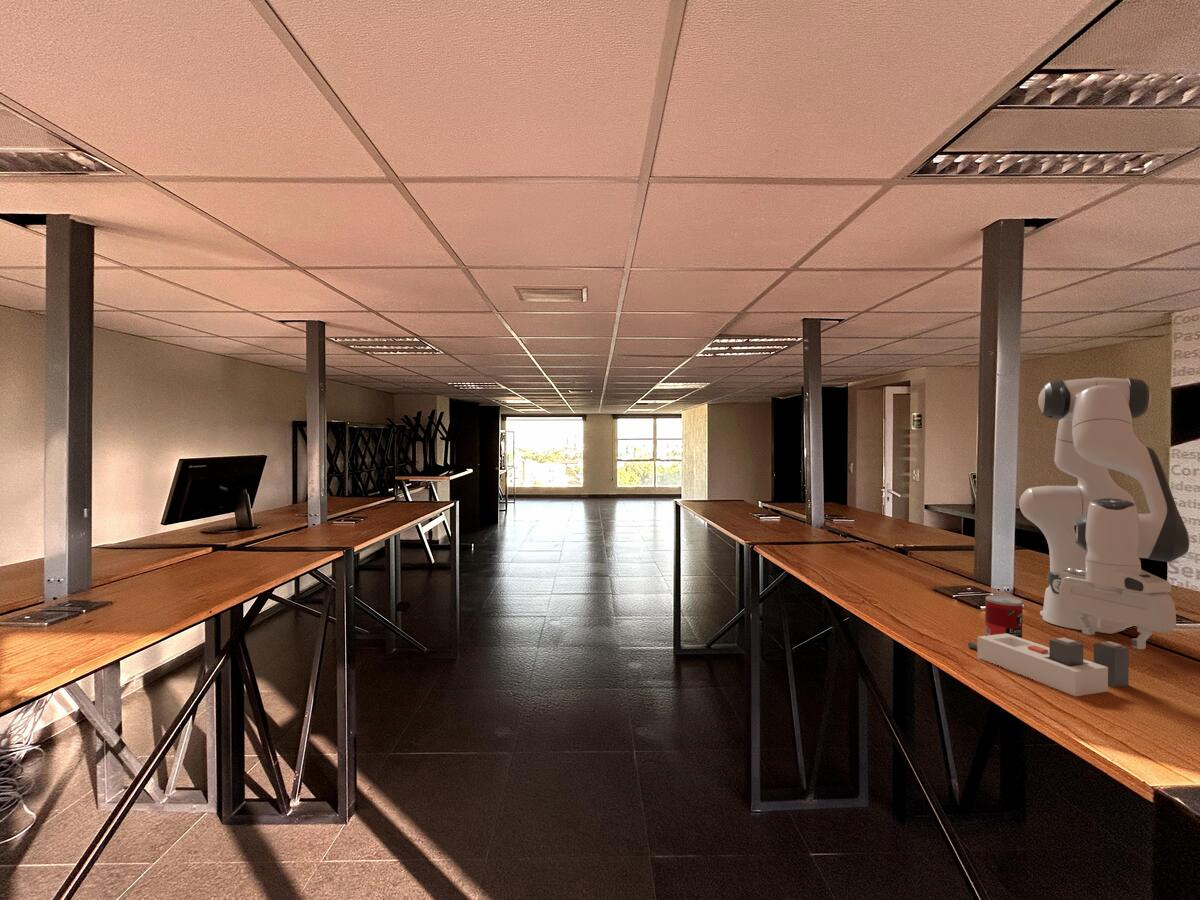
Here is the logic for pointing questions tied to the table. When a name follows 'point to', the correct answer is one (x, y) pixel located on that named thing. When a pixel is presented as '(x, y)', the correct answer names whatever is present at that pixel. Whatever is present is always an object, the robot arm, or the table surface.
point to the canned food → (1003, 615)
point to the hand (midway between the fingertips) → (1112, 640)
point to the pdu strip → (1045, 662)
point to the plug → (1113, 662)
